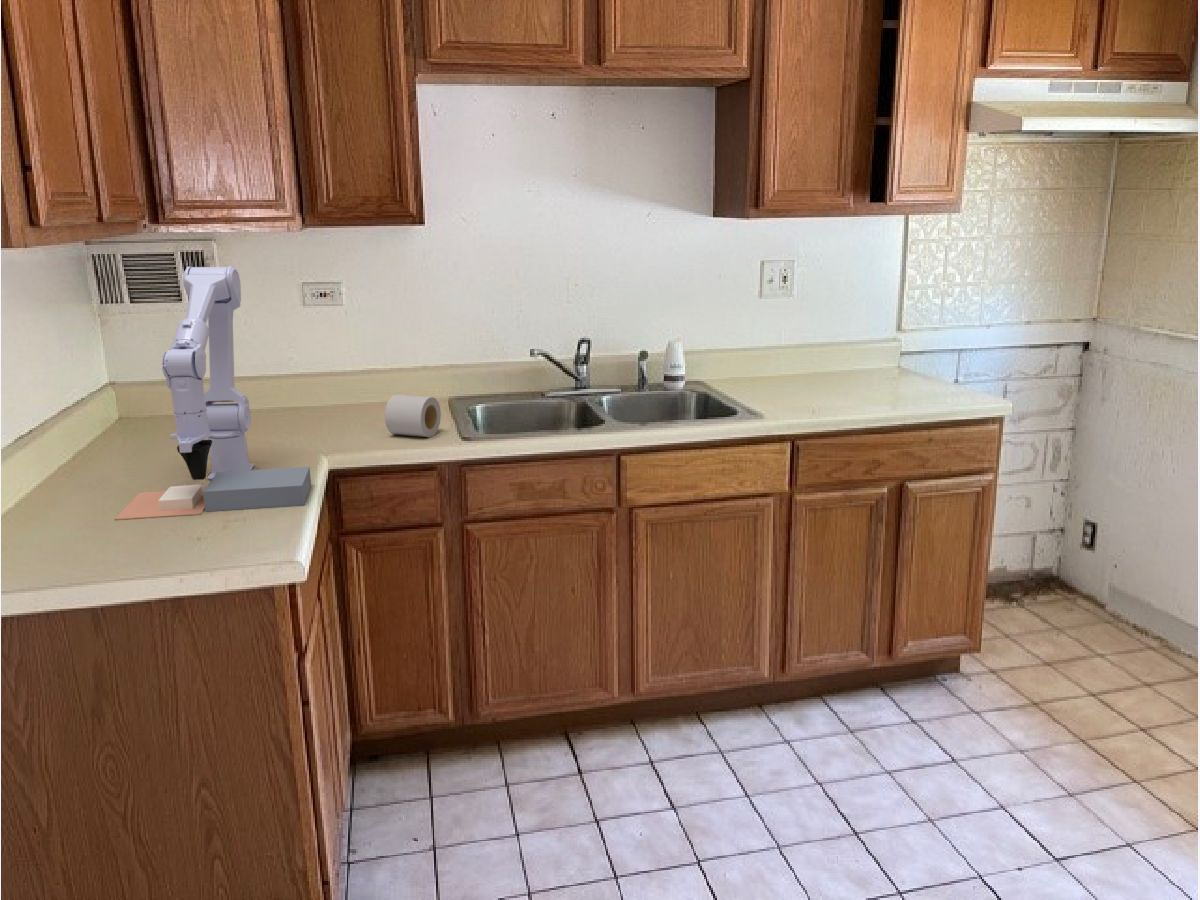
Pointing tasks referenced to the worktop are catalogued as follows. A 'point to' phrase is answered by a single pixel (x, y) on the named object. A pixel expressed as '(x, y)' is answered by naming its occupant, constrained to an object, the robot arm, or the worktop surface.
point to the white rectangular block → (180, 497)
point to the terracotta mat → (155, 507)
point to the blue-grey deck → (257, 489)
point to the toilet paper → (412, 415)
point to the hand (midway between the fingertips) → (199, 478)
